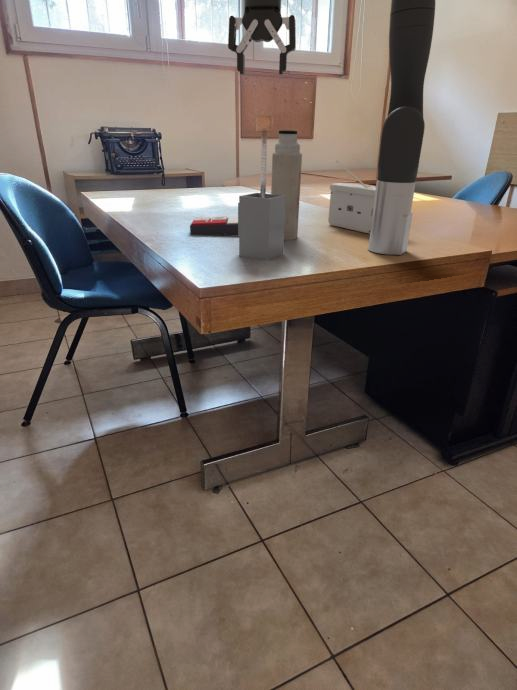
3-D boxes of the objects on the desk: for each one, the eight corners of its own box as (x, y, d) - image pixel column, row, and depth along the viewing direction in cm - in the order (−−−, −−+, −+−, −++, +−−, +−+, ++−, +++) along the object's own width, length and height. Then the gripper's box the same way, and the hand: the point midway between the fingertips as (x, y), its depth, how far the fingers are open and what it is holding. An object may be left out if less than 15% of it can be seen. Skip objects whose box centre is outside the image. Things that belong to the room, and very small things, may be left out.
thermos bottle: (298, 234, 134) (305, 130, 122) (295, 240, 127) (301, 130, 115) (272, 233, 135) (275, 129, 123) (267, 238, 128) (270, 129, 116)
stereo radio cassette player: (391, 233, 139) (401, 163, 130) (374, 236, 134) (383, 164, 126) (341, 223, 154) (347, 159, 145) (324, 225, 149) (329, 160, 141)
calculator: (193, 216, 140) (242, 214, 140) (194, 230, 142) (242, 228, 142) (189, 223, 130) (241, 221, 130) (190, 238, 132) (242, 236, 132)
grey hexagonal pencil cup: (283, 253, 113) (285, 195, 107) (267, 260, 107) (269, 199, 101) (248, 248, 118) (248, 192, 112) (231, 254, 111) (231, 195, 105)
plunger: (279, 210, 108) (283, 117, 100) (267, 213, 103) (270, 115, 95) (257, 207, 111) (259, 116, 102) (245, 210, 106) (245, 115, 98)
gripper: (299, -14, 94) (295, 76, 101) (231, -13, 96) (232, 76, 103) (297, -25, 87) (293, 72, 94) (224, -24, 89) (226, 72, 96)
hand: (261, 74), depth 98 cm, fingers open, 8 cm apart
